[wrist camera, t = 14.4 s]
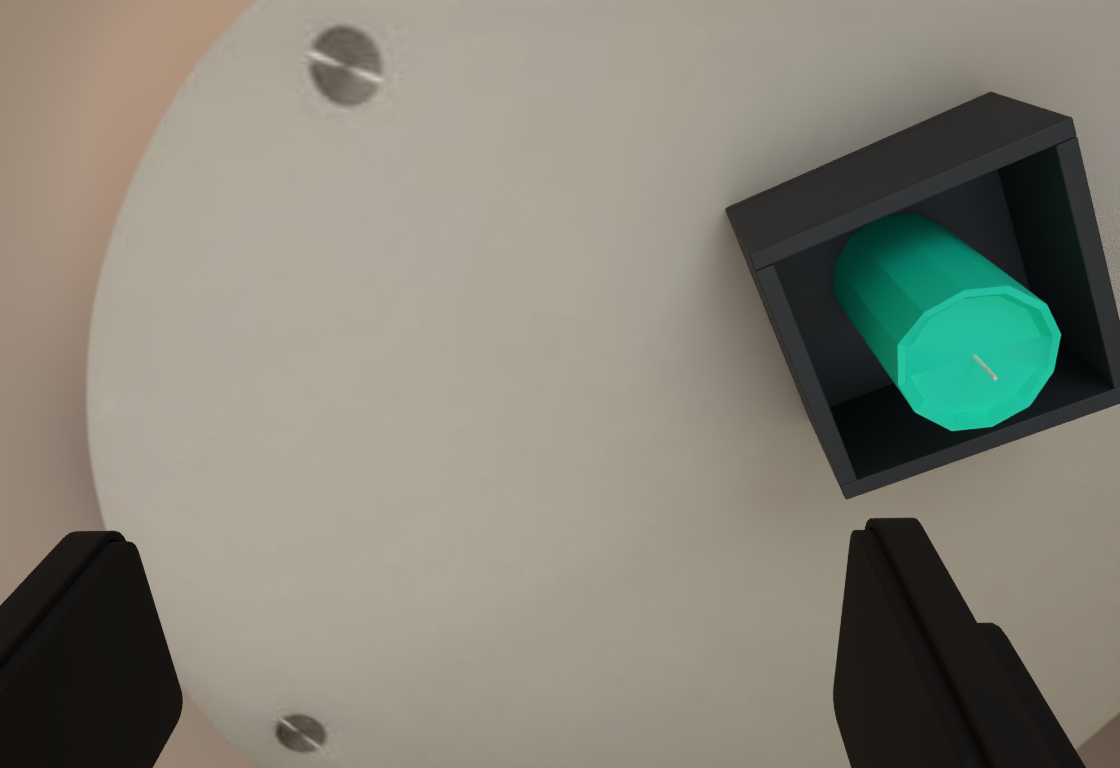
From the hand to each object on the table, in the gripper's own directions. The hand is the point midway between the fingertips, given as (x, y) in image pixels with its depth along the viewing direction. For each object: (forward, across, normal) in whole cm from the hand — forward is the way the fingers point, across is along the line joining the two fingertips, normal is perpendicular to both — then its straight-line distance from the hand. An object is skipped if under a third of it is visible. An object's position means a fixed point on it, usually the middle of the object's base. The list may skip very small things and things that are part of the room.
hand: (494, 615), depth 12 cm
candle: (+32, -15, +7) cm, 36 cm away
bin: (+33, -15, +7) cm, 37 cm away
